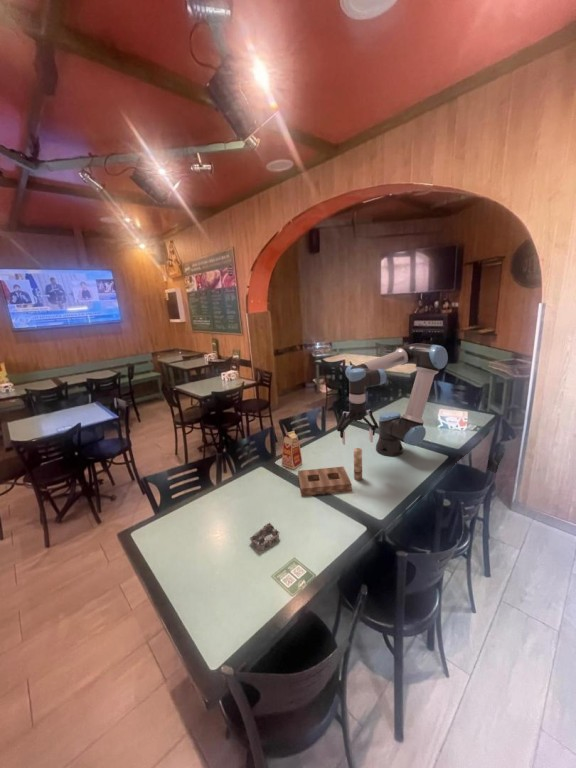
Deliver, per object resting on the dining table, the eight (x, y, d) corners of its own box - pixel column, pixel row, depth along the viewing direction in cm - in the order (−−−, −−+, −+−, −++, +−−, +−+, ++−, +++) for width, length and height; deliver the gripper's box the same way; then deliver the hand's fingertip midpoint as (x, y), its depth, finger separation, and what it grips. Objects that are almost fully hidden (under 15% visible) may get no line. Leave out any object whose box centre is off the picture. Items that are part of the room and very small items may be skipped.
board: (343, 473, 164) (343, 466, 162) (351, 491, 148) (351, 483, 147) (298, 477, 162) (297, 470, 161) (301, 496, 147) (301, 488, 146)
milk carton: (294, 469, 171) (291, 435, 165) (281, 465, 176) (278, 432, 171) (303, 462, 178) (301, 429, 172) (290, 458, 183) (288, 426, 178)
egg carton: (271, 529, 127) (270, 521, 126) (282, 539, 121) (281, 531, 120) (248, 542, 121) (247, 533, 120) (259, 554, 115) (258, 544, 114)
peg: (361, 475, 160) (360, 447, 156) (363, 480, 156) (363, 451, 152) (353, 476, 160) (352, 448, 156) (355, 481, 156) (354, 452, 152)
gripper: (380, 397, 151) (379, 437, 157) (329, 400, 150) (330, 441, 156) (386, 401, 144) (385, 443, 150) (332, 405, 143) (333, 448, 148)
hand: (357, 442), depth 153 cm, fingers open, 13 cm apart
